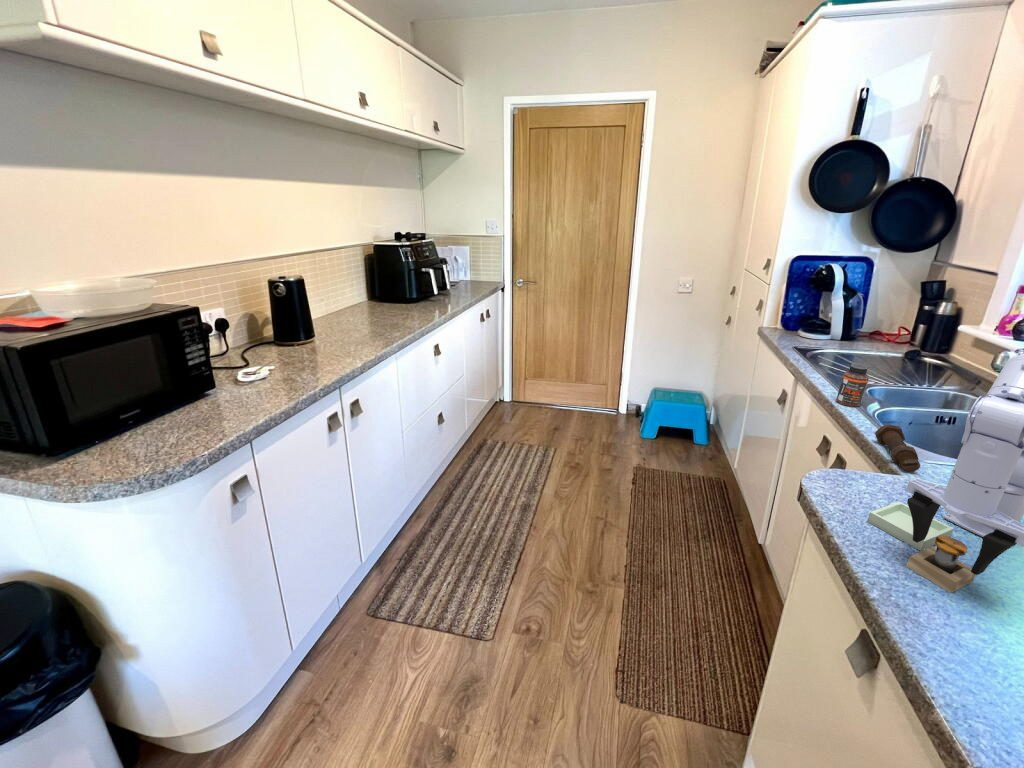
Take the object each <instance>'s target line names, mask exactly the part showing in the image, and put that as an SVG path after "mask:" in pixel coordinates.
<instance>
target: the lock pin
mask: <svg viewBox="0 0 1024 768" xmlns="http://www.w3.org/2000/svg"><path fill="white" fill-rule="evenodd" d="M934 546H935V547H936V552H935V554H934V557H933V559H932V561H931V564H933V565H934V566H936V567H938V568H940V569H942V570H943V571H945V572H947V573H949V574H952V572H953V570H954V567H955V565H956V563H957V560H959V557H960V556H961V557H963V556H966V554H967V551H968V546H967V545H966V544H965V543H963V542H962V541H961V540H959V539H957V538H954V537H952V536H951V537H948V536H937V537H936V540H935V545H934Z"/></svg>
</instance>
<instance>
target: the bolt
mask: <svg viewBox="0 0 1024 768" xmlns="http://www.w3.org/2000/svg"><path fill="white" fill-rule="evenodd" d="M874 435H875V438H876V440H877V442H878V444H879V445H880V446H886V447H887V448H888V449H889V451H890V452H889V455H890V457H891V460H892V462H893V463H894V465H897V466H900V467H901V468H902V470H903V471H906V472H909V473H911V472H912V473H913V472H915V471H918V470H919V469H920V468H921V463H920V461H919V459H920V458H919V456H918V452H917V451H916V449H915V448H914V447H913V446H911V445H907V443H905V441H906V438H905V434H904V433H903V430H902V427H901V426H897V425H893V424H884V425H882V426H881V427H879V428H878V429H877V430H876V431H875V432H874Z"/></svg>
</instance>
